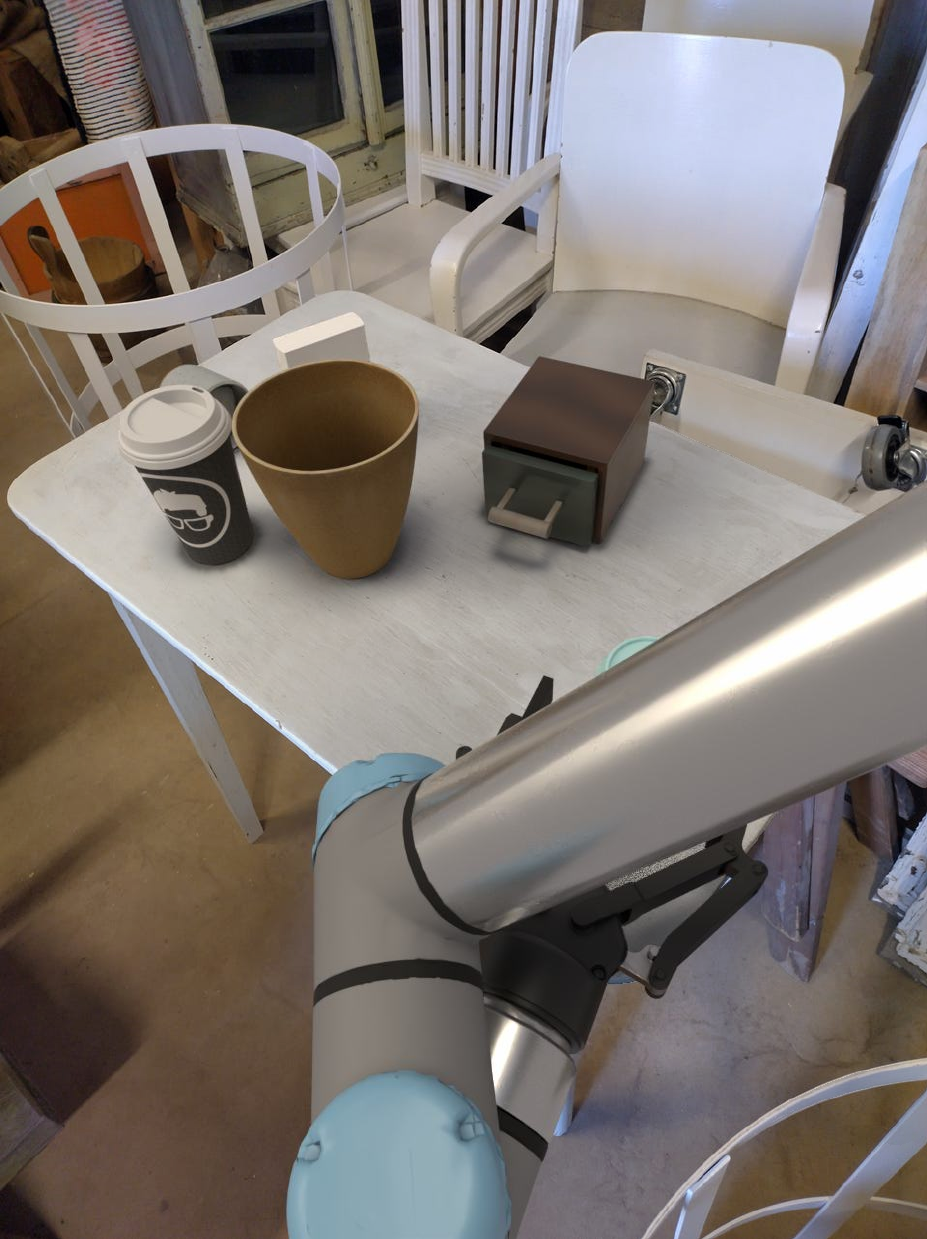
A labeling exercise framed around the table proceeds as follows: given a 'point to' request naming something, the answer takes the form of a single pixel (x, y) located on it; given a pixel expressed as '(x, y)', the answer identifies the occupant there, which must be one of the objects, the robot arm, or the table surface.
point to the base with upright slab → (324, 342)
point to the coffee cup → (189, 468)
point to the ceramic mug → (209, 386)
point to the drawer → (539, 493)
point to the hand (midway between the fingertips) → (640, 720)
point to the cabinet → (580, 425)
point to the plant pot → (334, 458)
